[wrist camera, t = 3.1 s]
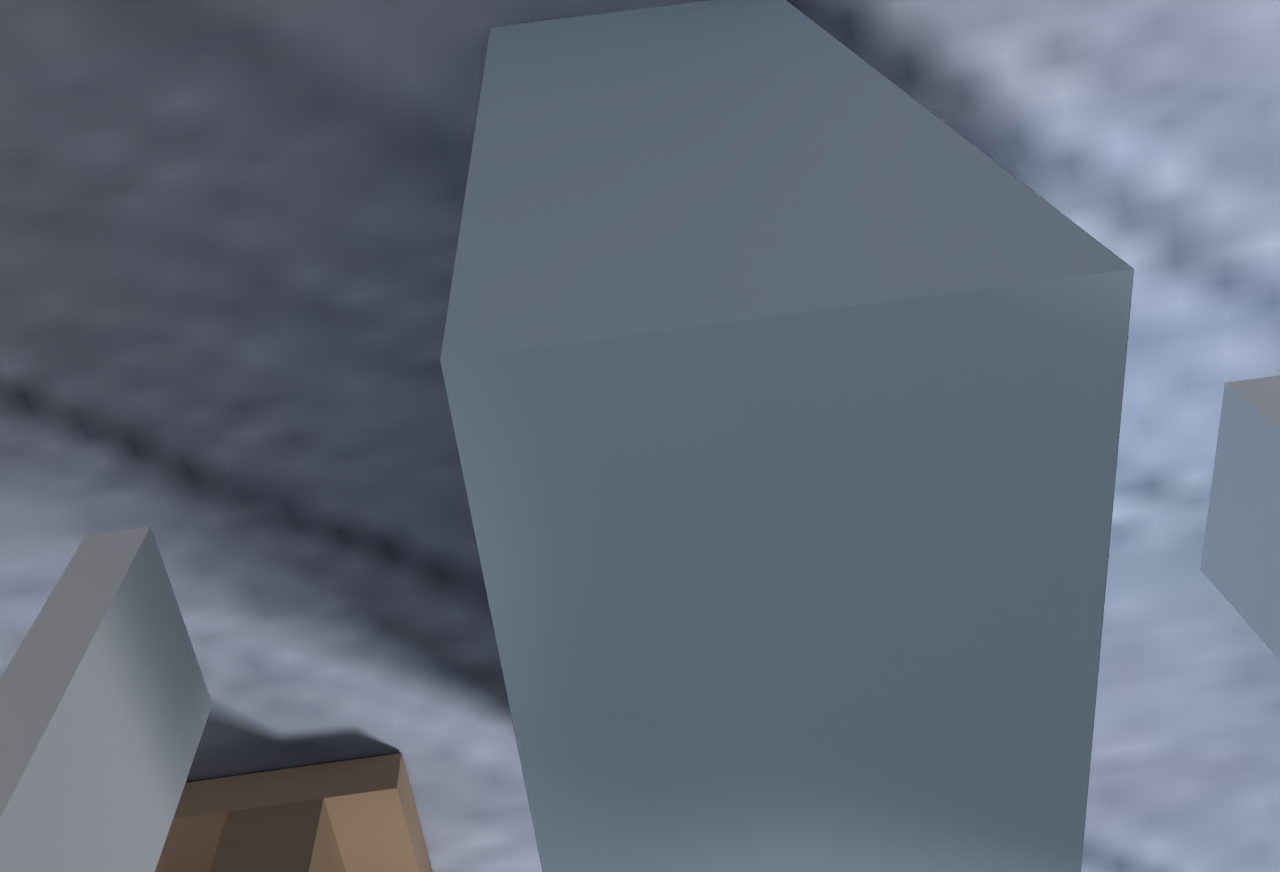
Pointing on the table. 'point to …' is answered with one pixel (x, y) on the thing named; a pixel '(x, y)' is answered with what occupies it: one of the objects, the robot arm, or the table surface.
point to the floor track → (300, 821)
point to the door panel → (779, 455)
